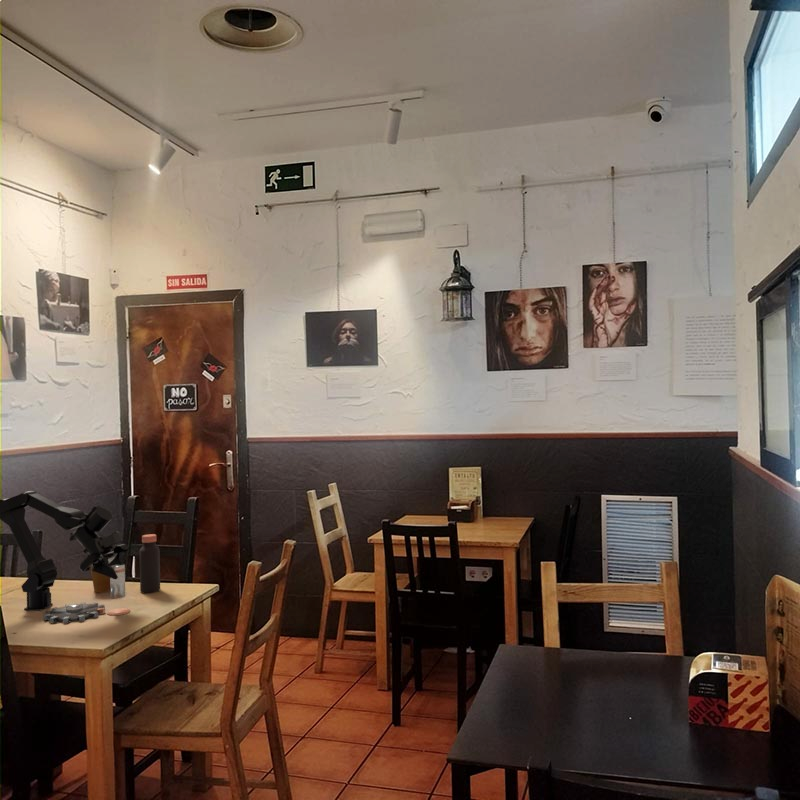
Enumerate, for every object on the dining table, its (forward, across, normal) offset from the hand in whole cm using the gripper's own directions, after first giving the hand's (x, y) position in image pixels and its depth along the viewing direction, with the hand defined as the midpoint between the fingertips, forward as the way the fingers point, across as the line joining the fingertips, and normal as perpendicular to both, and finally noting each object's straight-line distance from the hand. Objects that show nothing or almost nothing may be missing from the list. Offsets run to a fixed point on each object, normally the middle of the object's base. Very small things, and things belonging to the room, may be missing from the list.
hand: (121, 576), depth 233 cm
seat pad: (+7, 0, +9) cm, 12 cm away
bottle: (+4, +26, +13) cm, 29 cm away
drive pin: (+4, 0, +6) cm, 7 cm away
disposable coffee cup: (-9, +24, +26) cm, 36 cm away
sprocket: (-2, -5, +18) cm, 19 cm away
